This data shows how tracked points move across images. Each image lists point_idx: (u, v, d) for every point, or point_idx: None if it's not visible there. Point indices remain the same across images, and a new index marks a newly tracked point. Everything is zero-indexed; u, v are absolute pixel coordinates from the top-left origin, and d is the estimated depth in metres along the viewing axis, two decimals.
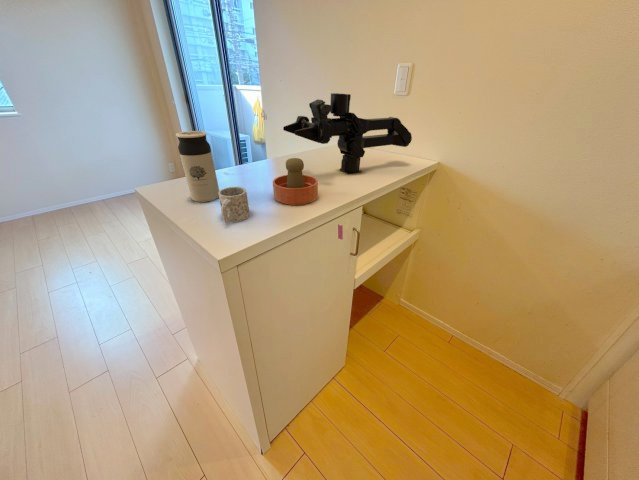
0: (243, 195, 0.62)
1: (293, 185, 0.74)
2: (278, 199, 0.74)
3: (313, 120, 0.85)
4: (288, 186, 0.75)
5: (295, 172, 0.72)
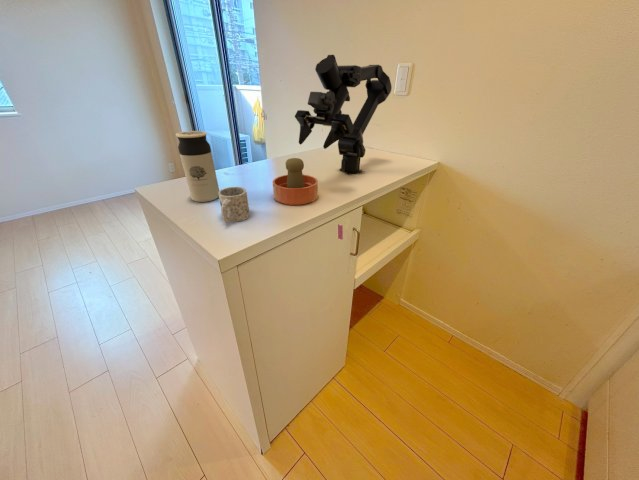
0: (243, 195, 0.62)
1: (293, 185, 0.74)
2: (278, 199, 0.74)
3: (318, 112, 0.76)
4: (288, 186, 0.75)
5: (295, 172, 0.72)
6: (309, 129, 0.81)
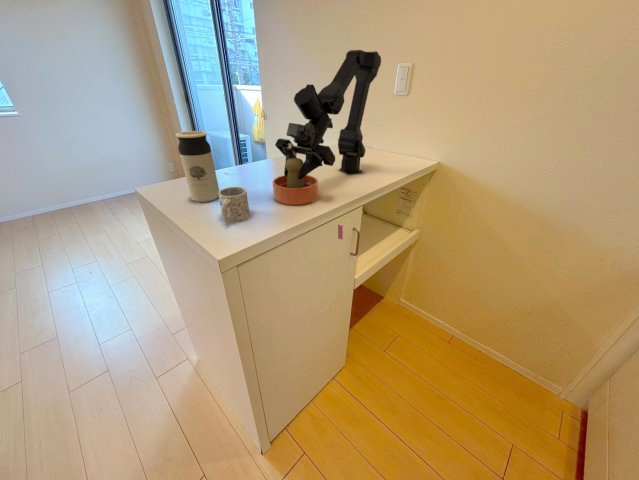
0: (243, 195, 0.62)
1: (293, 185, 0.74)
2: (278, 199, 0.74)
3: (298, 142, 0.73)
4: (288, 186, 0.75)
5: (295, 172, 0.72)
6: None
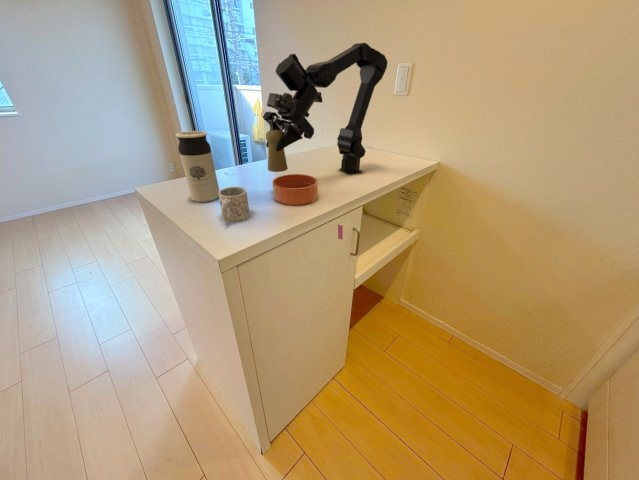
0: (243, 195, 0.62)
1: (272, 157, 0.75)
2: (278, 199, 0.74)
3: (281, 114, 0.74)
4: (268, 158, 0.76)
5: (274, 143, 0.73)
6: None
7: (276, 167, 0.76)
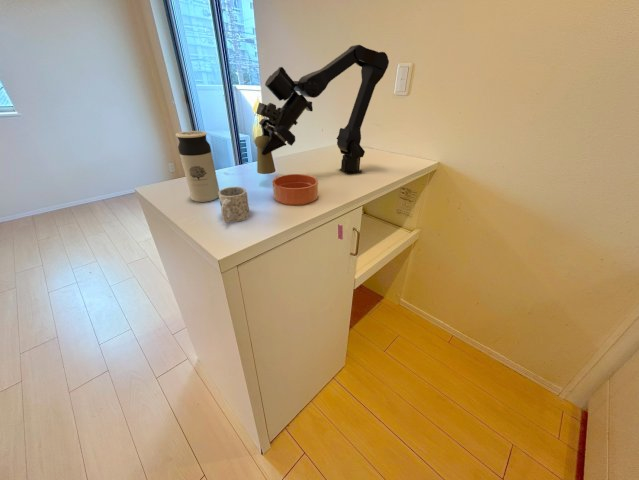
0: (243, 195, 0.62)
1: (259, 160, 0.82)
2: (278, 199, 0.74)
3: (271, 122, 0.80)
4: (257, 161, 0.83)
5: (260, 148, 0.80)
6: None
7: (262, 170, 0.82)
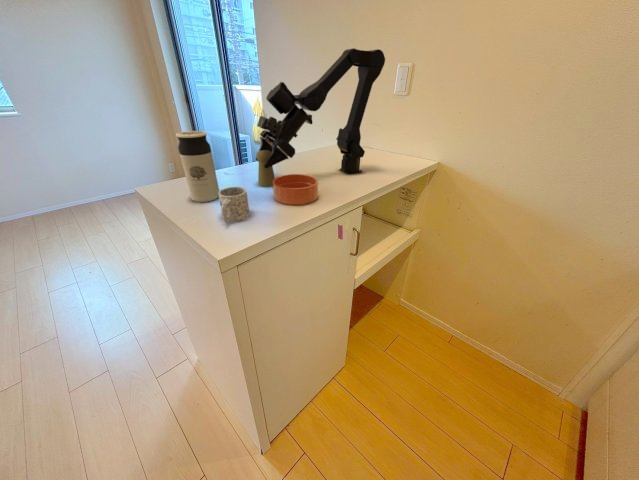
0: (243, 195, 0.62)
1: (260, 174, 0.84)
2: (278, 199, 0.74)
3: (272, 134, 0.82)
4: (258, 174, 0.85)
5: (262, 162, 0.82)
6: (271, 148, 0.88)
7: (263, 183, 0.85)
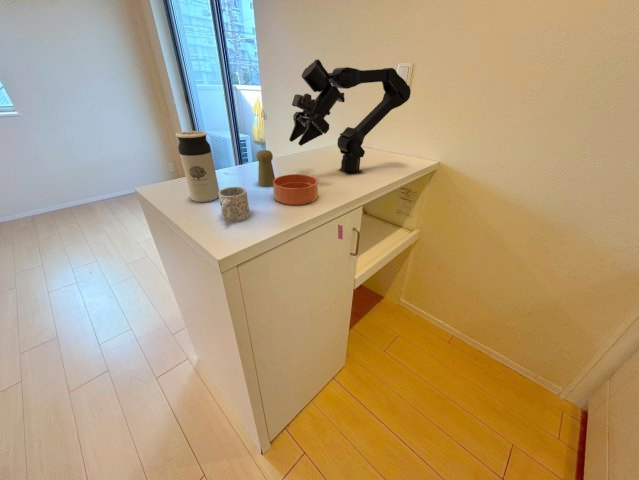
0: (243, 195, 0.62)
1: (260, 174, 0.84)
2: (278, 199, 0.74)
3: (305, 113, 0.84)
4: (258, 174, 0.85)
5: (262, 162, 0.82)
6: (303, 128, 0.89)
7: (263, 183, 0.85)
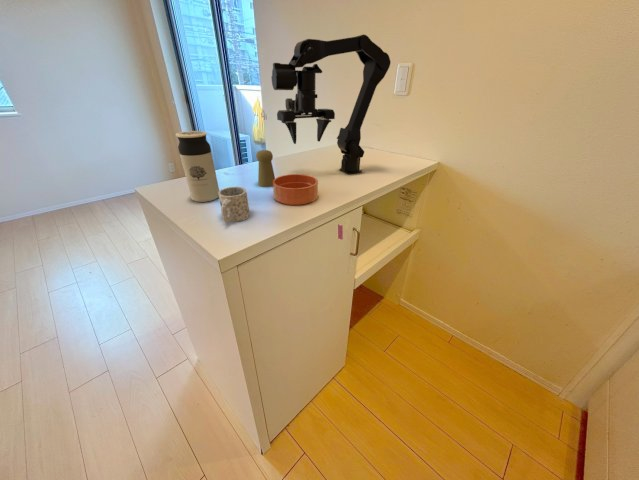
0: (243, 195, 0.62)
1: (260, 174, 0.84)
2: (278, 199, 0.74)
3: None
4: (258, 174, 0.85)
5: (262, 162, 0.82)
6: (322, 122, 0.86)
7: (263, 183, 0.85)
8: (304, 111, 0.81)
